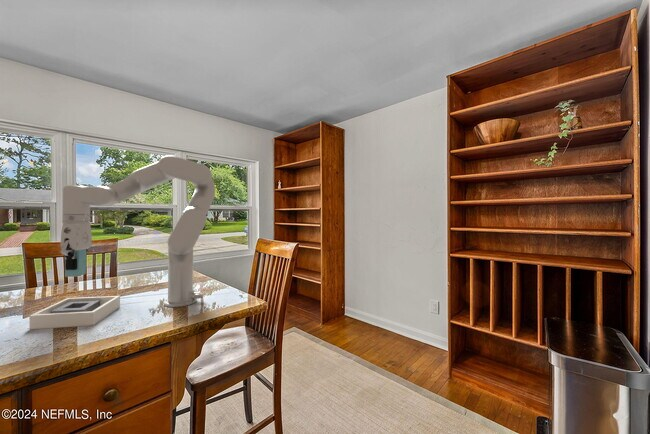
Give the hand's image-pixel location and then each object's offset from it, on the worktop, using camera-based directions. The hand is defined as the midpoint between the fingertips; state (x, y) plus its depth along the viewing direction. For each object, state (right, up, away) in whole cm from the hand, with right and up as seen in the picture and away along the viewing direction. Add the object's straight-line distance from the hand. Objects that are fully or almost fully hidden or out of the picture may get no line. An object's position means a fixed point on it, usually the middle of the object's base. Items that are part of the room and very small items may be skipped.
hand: (75, 267), depth 101 cm
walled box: (+2, -18, -1) cm, 18 cm away
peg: (0, -3, 0) cm, 3 cm away
